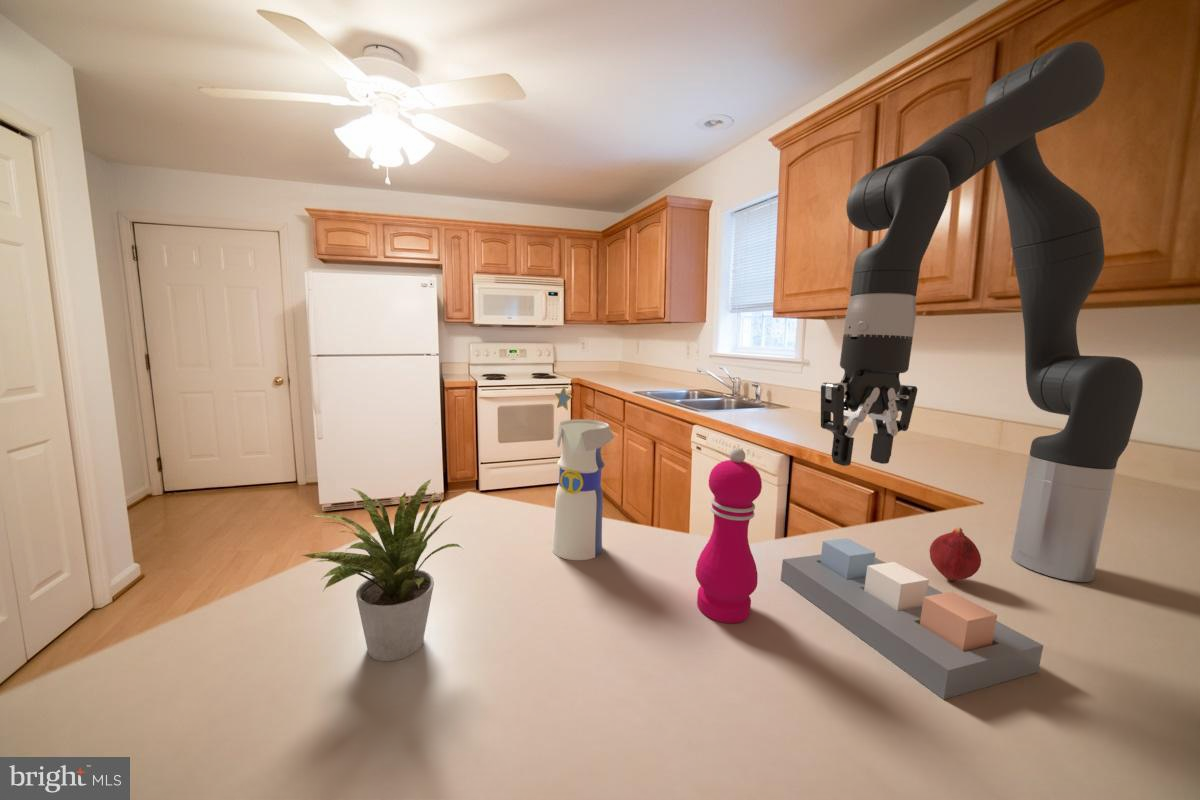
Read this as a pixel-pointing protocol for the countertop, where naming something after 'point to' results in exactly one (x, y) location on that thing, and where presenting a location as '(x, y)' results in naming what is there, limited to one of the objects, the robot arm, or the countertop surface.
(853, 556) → the blue key
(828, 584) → the board
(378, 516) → the house plant
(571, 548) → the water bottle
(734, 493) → the pepper mill
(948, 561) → the onion
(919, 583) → the white key
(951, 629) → the terracotta key
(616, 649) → the countertop surface
